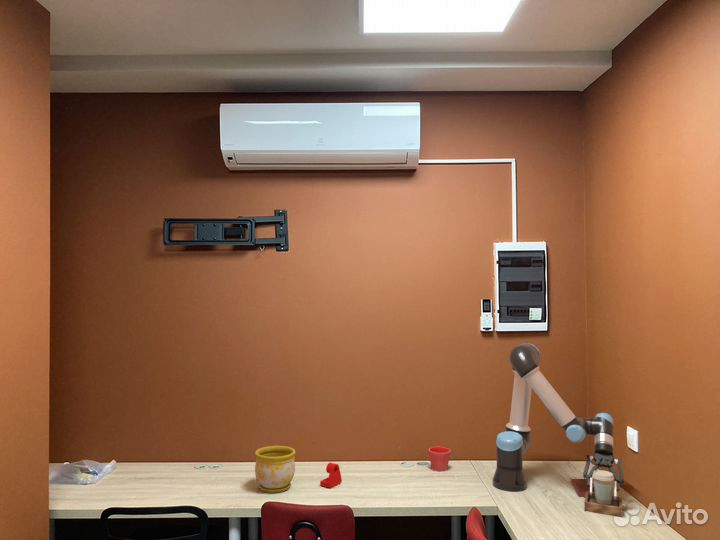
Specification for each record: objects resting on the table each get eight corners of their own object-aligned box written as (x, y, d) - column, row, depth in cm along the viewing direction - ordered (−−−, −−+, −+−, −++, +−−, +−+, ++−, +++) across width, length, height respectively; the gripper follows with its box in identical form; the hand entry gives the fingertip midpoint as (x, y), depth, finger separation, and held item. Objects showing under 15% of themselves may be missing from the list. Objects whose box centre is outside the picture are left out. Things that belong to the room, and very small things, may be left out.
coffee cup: (597, 496, 235) (597, 468, 235) (617, 502, 229) (617, 473, 229) (588, 501, 229) (588, 472, 229) (609, 507, 223) (609, 478, 223)
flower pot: (451, 472, 271) (452, 452, 271) (429, 472, 271) (429, 452, 272) (448, 465, 282) (448, 446, 282) (427, 465, 282) (427, 446, 282)
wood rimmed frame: (584, 511, 225) (584, 502, 226) (586, 499, 238) (586, 491, 238) (622, 517, 219) (622, 508, 220) (622, 505, 232) (621, 496, 232)
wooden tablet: (603, 501, 238) (603, 497, 238) (578, 499, 240) (578, 495, 240) (590, 480, 264) (590, 476, 264) (568, 478, 266) (568, 474, 266)
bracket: (331, 480, 258) (331, 459, 258) (341, 483, 254) (341, 461, 255) (319, 486, 251) (319, 464, 251) (329, 489, 247) (330, 466, 247)
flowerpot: (246, 491, 243) (247, 454, 243) (267, 478, 259) (268, 443, 260) (282, 497, 236) (282, 459, 237) (301, 484, 253) (302, 448, 253)
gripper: (630, 454, 239) (631, 504, 224) (578, 447, 248) (575, 495, 233) (631, 445, 234) (632, 495, 219) (577, 438, 243) (574, 487, 228)
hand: (603, 495), depth 226 cm, fingers closed on coffee cup, 8 cm apart
